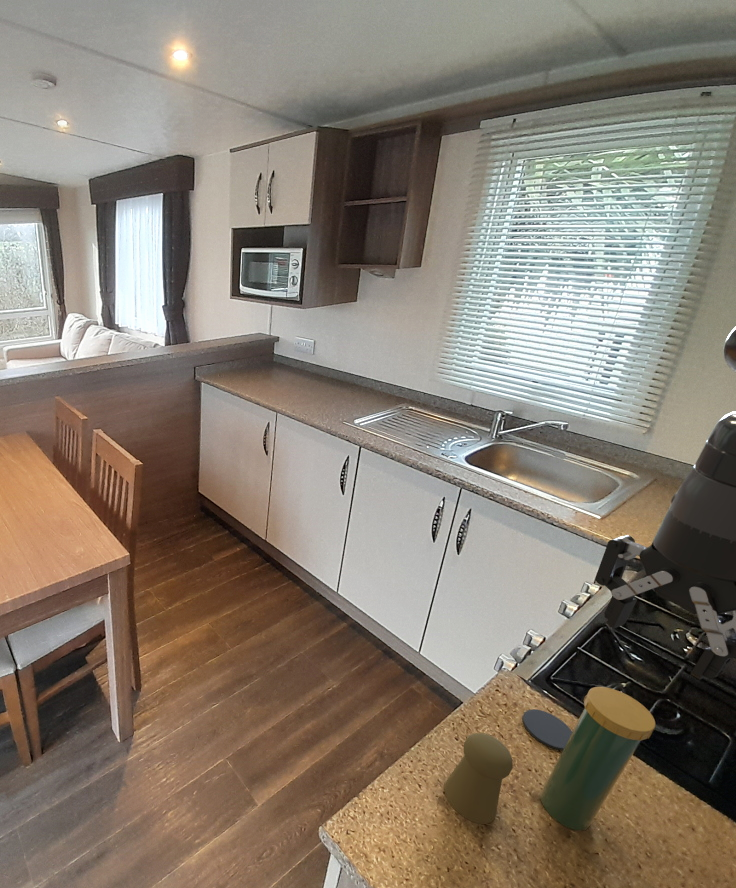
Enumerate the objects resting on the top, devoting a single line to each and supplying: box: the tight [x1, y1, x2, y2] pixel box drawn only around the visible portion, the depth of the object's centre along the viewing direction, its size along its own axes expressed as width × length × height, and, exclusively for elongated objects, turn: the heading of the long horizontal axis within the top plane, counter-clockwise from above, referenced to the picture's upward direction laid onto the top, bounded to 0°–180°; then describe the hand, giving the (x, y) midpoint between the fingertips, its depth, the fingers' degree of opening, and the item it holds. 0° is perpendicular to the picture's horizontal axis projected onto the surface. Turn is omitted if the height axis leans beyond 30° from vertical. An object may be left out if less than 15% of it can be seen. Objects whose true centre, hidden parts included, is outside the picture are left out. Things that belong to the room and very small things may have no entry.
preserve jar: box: [539, 707, 643, 832], centre depth 60 cm, size 5×5×19 cm
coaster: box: [521, 709, 573, 751], centre depth 74 cm, size 6×6×1 cm
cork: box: [443, 732, 514, 825], centre depth 63 cm, size 6×6×11 cm
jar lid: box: [583, 686, 656, 742], centre depth 56 cm, size 6×6×2 cm
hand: (654, 647), depth 52 cm, fingers open, 7 cm apart
